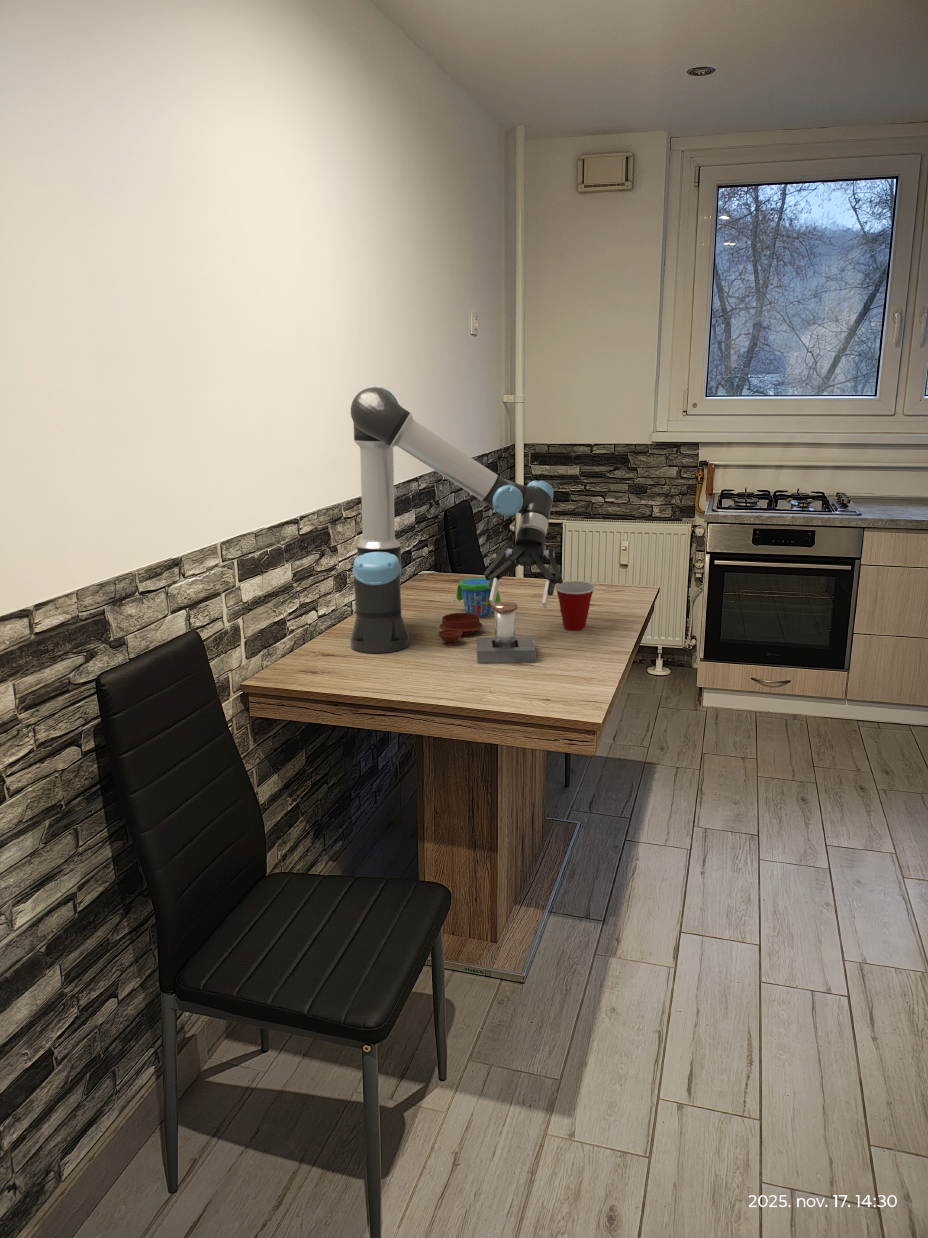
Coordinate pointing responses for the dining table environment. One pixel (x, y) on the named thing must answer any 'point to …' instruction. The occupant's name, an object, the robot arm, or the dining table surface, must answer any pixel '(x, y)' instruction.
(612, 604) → the dining table surface
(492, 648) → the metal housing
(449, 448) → the robot arm
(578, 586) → the plastic cup
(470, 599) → the snack cup
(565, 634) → the dining table surface
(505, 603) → the silver copper-capped cylinder
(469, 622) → the pottery
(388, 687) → the dining table surface
